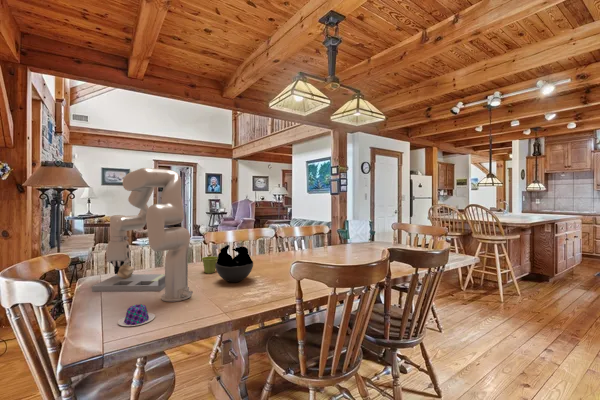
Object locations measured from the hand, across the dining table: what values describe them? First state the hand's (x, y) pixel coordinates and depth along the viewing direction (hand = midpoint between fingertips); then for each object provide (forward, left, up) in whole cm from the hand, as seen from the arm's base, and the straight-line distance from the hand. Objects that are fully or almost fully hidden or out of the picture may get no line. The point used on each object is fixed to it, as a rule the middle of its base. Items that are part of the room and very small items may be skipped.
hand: (117, 273), depth 156 cm
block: (-3, -1, -1) cm, 4 cm away
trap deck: (-13, -2, -5) cm, 14 cm away
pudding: (-53, +26, -5) cm, 59 cm away
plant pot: (-28, -38, -5) cm, 47 cm away
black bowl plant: (-53, -30, -5) cm, 61 cm away
